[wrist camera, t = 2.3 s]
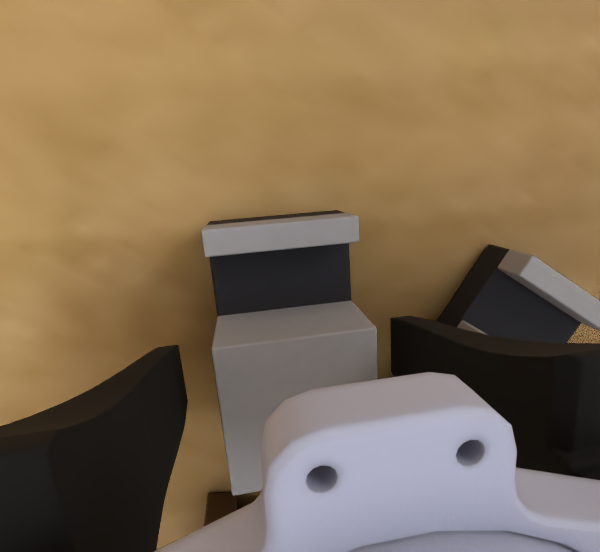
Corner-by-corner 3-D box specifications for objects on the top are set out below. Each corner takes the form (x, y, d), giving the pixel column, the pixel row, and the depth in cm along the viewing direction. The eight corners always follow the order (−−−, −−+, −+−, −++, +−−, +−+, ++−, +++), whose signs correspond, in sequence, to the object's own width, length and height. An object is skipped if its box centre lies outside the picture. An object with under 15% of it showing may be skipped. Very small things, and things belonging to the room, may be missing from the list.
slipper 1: (208, 221, 13) (194, 236, 9) (339, 209, 14) (374, 220, 10) (235, 424, 15) (233, 502, 11) (348, 406, 16) (381, 476, 12)
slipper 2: (487, 243, 15) (568, 263, 11) (568, 297, 16) (666, 331, 12) (377, 409, 16) (417, 478, 12) (460, 449, 17) (520, 522, 13)
